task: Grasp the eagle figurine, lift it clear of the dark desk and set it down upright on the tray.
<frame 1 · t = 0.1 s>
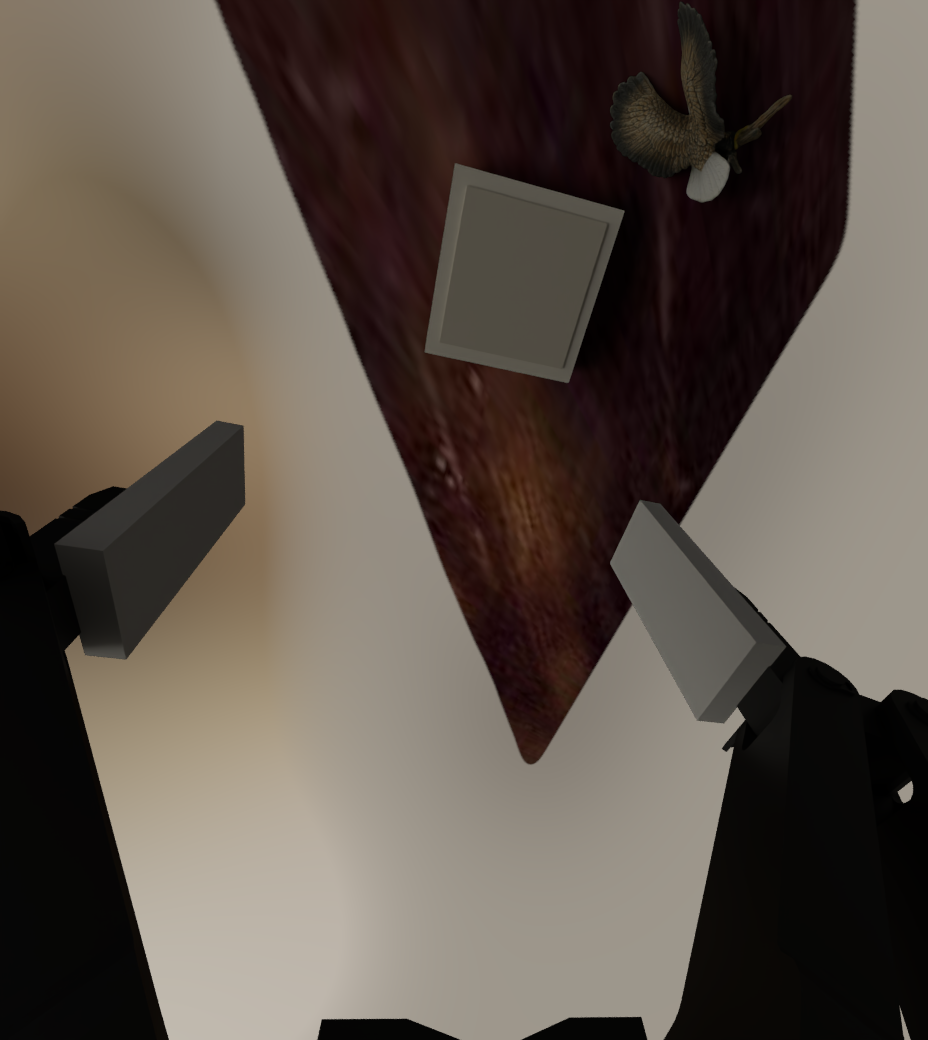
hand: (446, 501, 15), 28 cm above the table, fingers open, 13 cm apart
tray: (510, 282, 37), on the table
eagle figurine: (671, 126, 32), on the table
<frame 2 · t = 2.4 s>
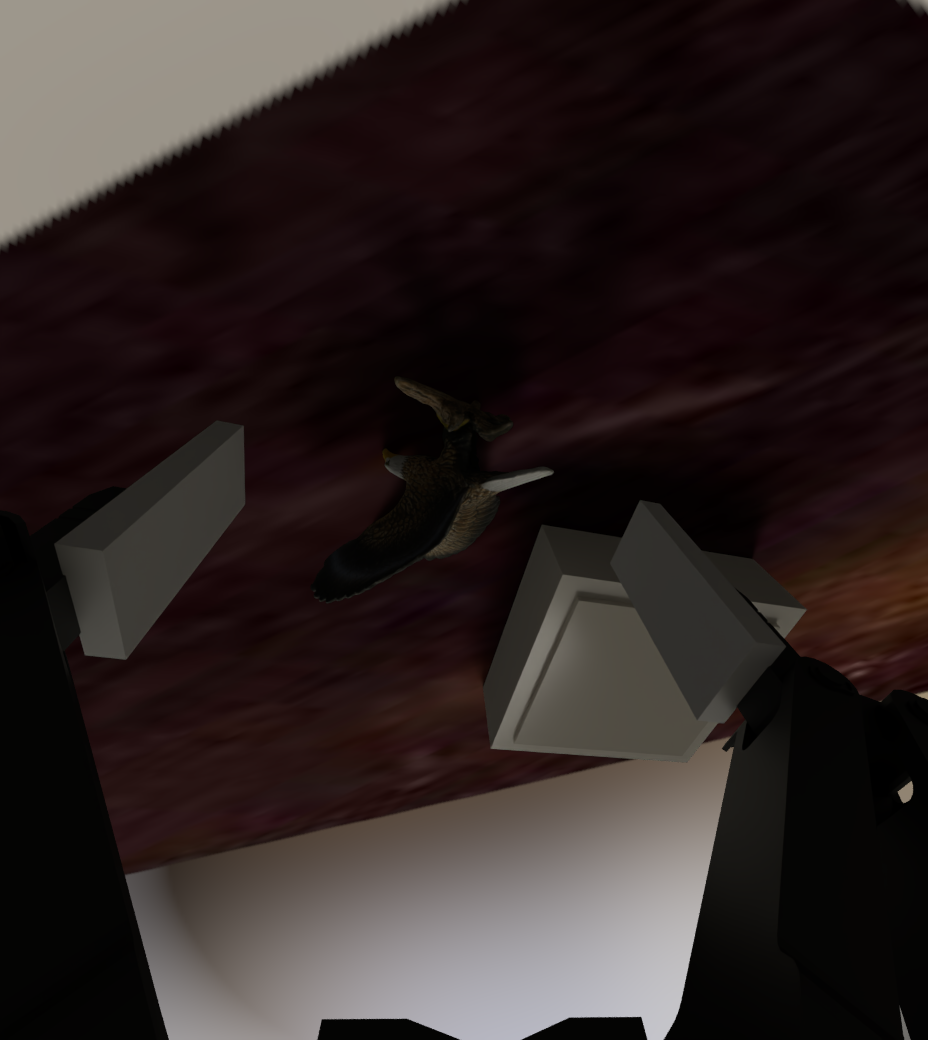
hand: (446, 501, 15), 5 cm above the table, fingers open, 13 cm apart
tray: (608, 627, 26), on the table
eagle figurine: (426, 473, 21), on the table
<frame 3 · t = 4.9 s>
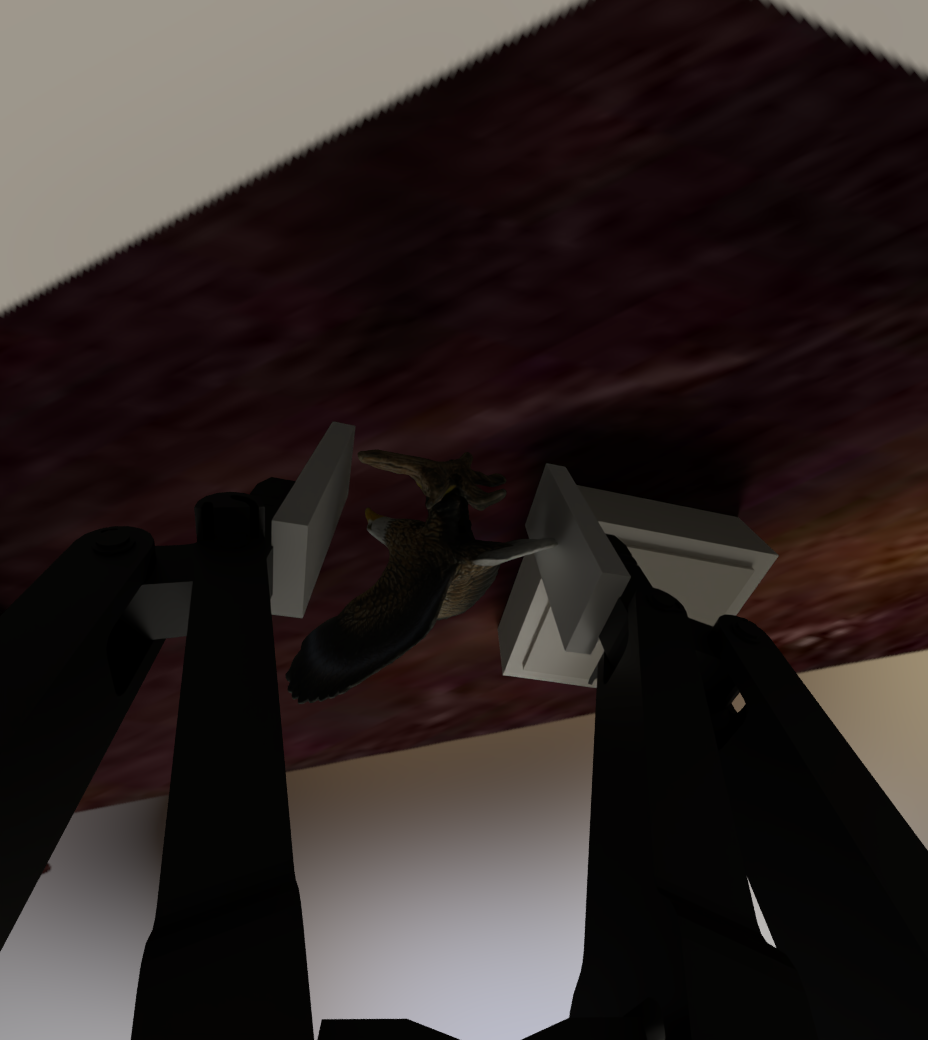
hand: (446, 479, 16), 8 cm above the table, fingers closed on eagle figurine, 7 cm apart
tray: (608, 577, 30), on the table
eagle figurine: (416, 531, 18), point 8 cm above the table, touching gripper
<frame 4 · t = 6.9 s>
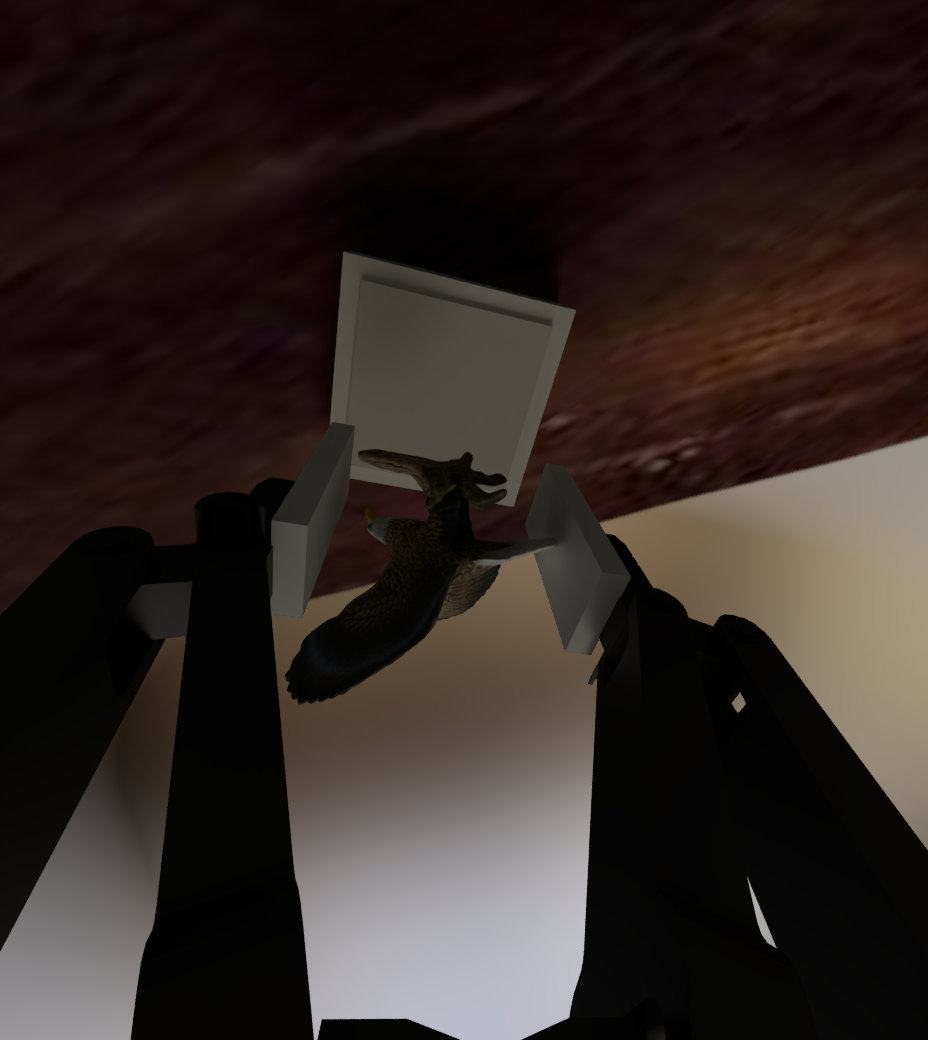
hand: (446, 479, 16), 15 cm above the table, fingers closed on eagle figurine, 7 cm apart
tray: (440, 381, 29), on the table
eagle figurine: (416, 531, 18), point 14 cm above the table, touching gripper
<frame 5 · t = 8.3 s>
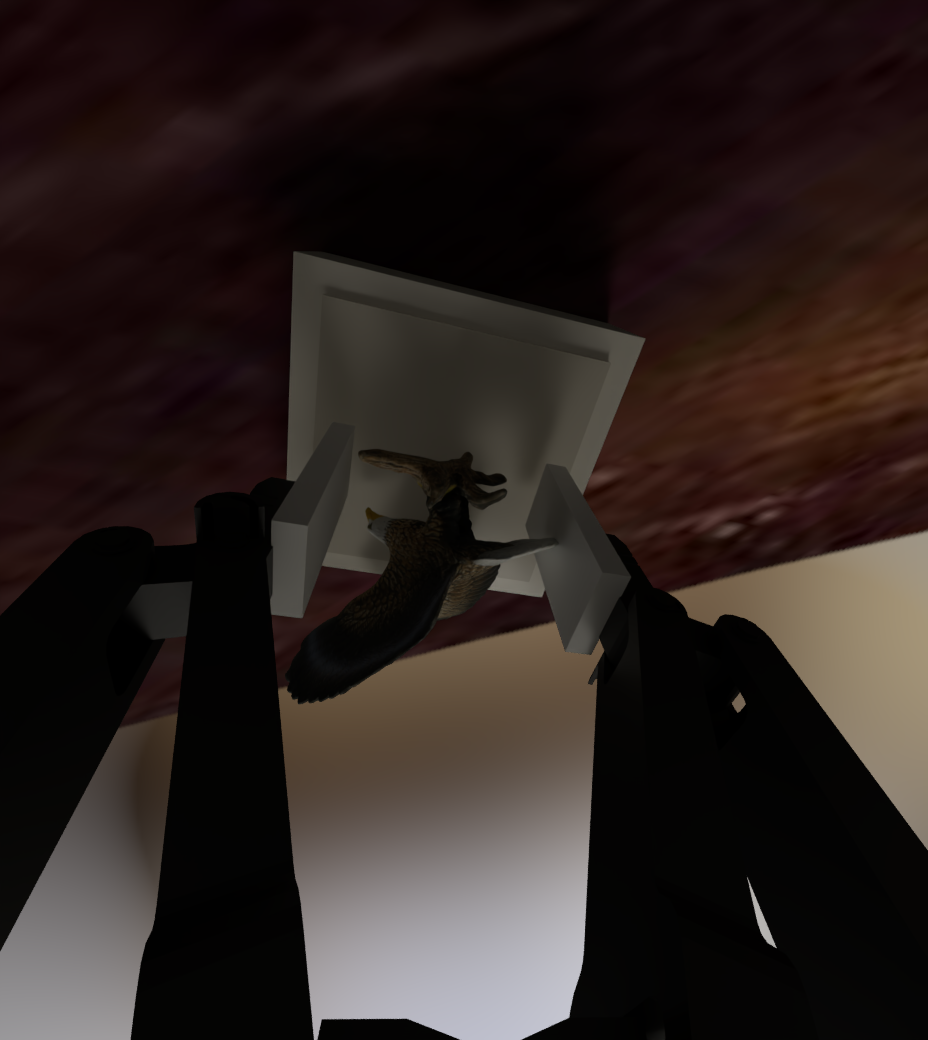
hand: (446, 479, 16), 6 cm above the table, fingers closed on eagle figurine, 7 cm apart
tray: (443, 428, 21), on the table
eagle figurine: (416, 531, 18), point 5 cm above the table, touching gripper
when the fingers open (5 cm above the table, at t = 9.3 s): eagle figurine stays where it is, resting on tray.
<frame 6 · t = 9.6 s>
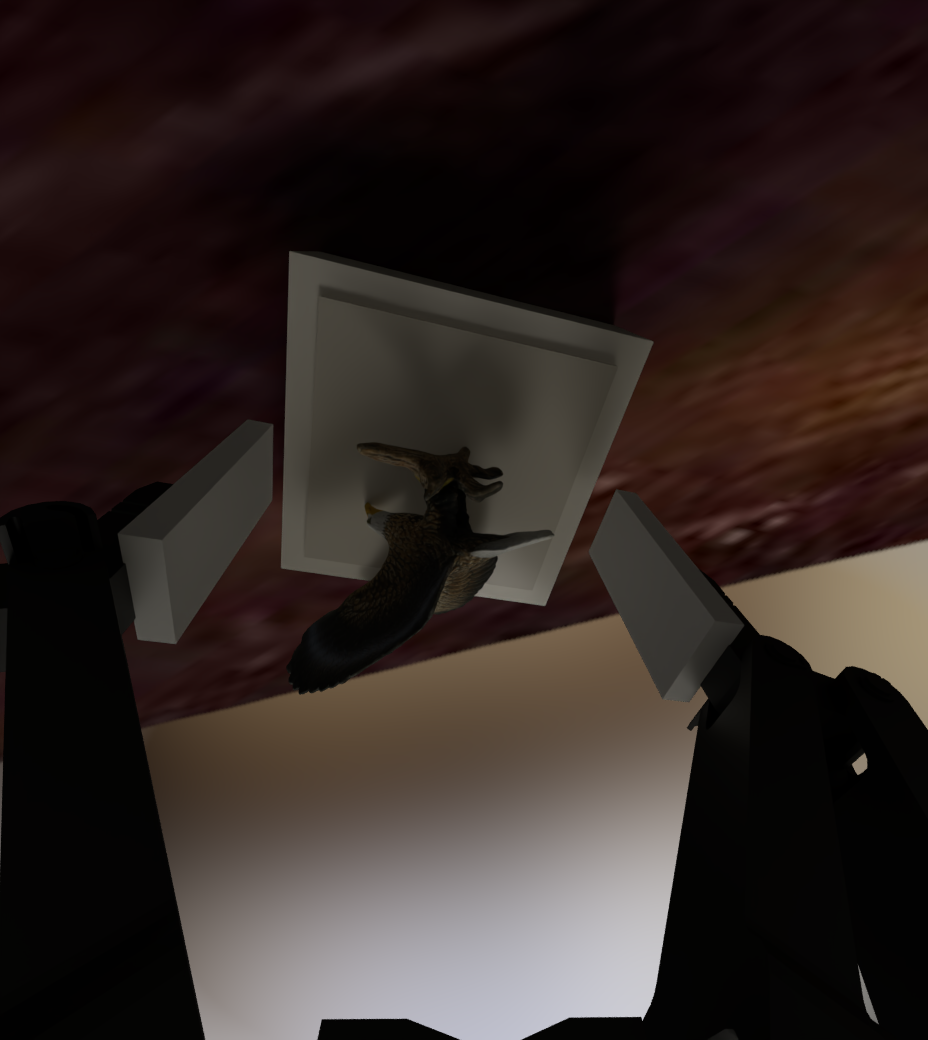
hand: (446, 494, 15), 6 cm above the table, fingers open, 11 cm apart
tray: (444, 432, 21), on the table
eagle figurine: (415, 525, 18), point 4 cm above the table, touching tray
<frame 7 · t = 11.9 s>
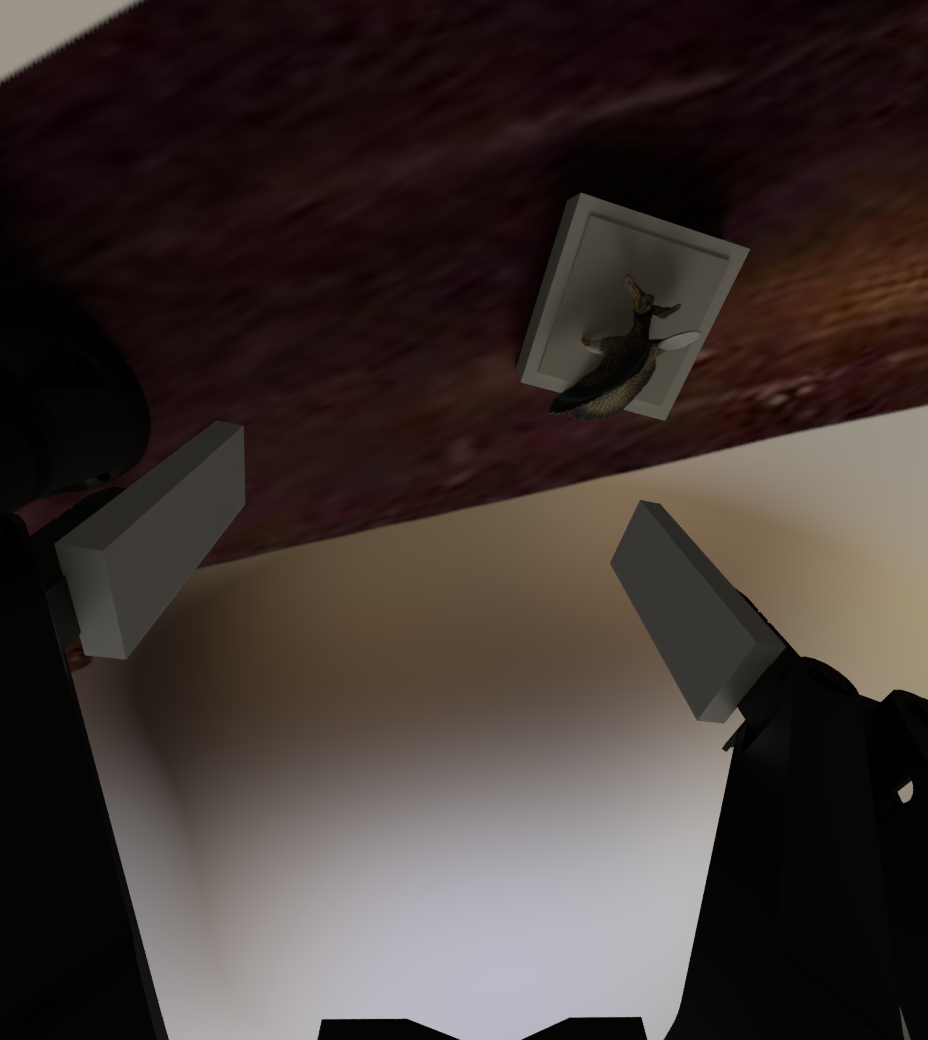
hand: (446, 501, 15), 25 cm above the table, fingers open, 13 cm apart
tray: (611, 314, 35), on the table
eagle figurine: (603, 356, 33), point 4 cm above the table, touching tray
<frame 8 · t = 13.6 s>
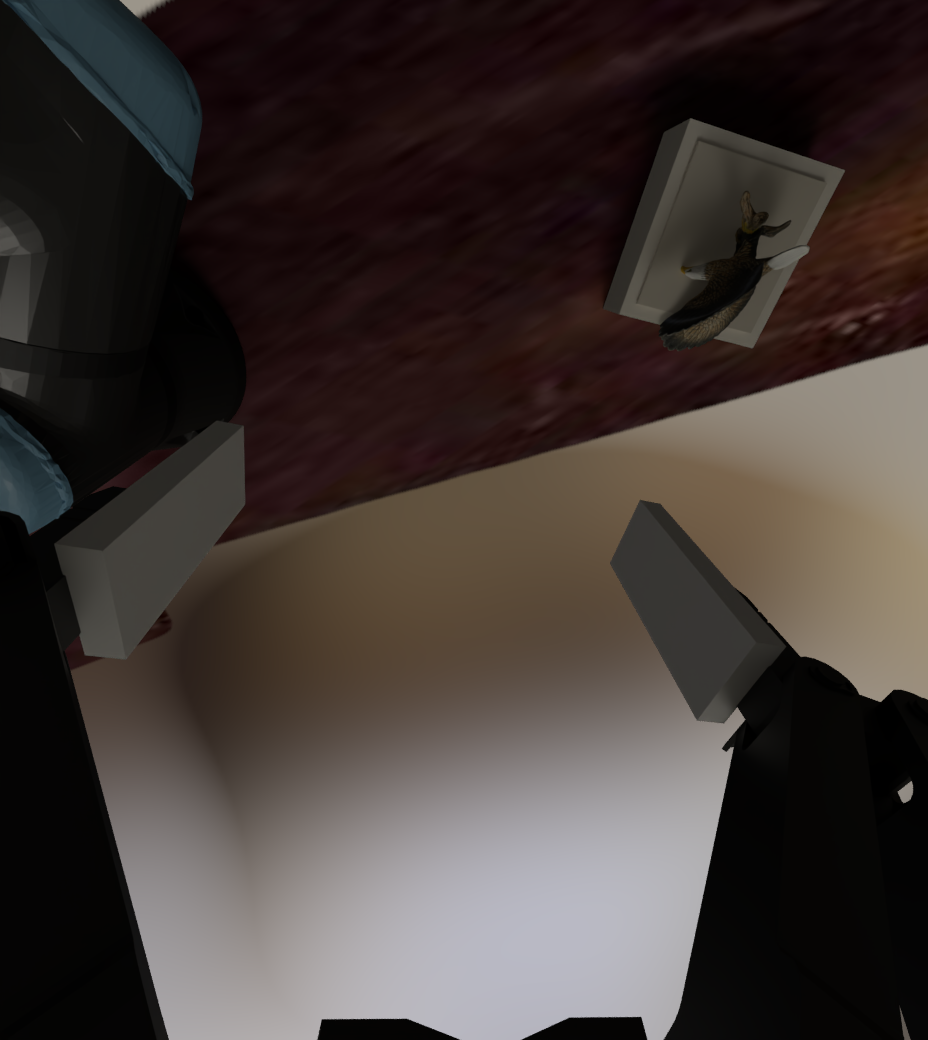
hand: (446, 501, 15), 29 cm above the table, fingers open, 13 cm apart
tray: (698, 247, 37), on the table
eagle figurine: (699, 285, 34), point 4 cm above the table, touching tray
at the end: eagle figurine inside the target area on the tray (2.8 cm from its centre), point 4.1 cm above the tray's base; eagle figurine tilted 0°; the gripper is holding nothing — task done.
